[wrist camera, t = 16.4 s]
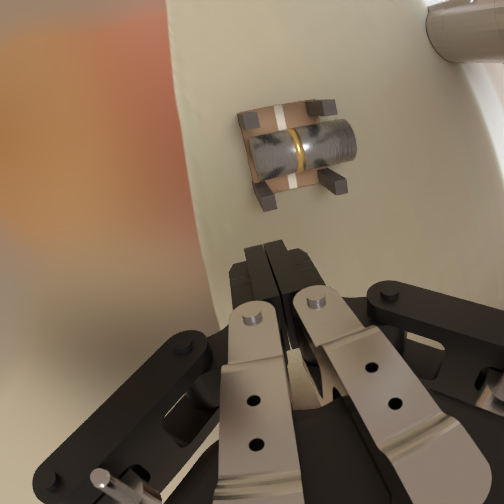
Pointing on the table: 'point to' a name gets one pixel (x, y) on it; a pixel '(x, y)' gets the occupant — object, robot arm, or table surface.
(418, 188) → the table surface
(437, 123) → the table surface
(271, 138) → the grey cylinder
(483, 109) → the table surface
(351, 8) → the table surface
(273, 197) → the cylinder holder stand
